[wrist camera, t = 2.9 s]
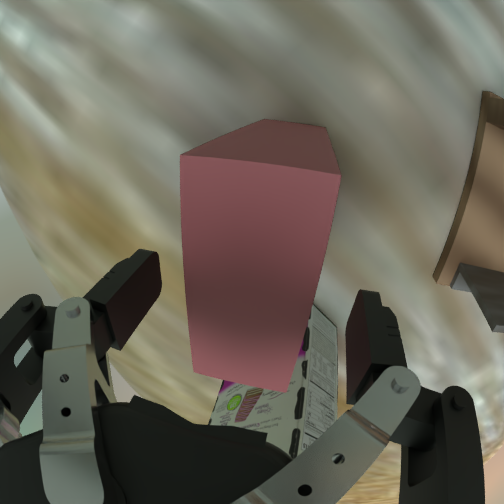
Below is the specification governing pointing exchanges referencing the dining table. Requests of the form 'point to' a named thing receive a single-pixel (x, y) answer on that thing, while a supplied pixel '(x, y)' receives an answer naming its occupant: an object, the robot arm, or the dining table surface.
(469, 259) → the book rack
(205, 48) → the dining table surface
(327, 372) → the candy bar box
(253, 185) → the burgundy book
